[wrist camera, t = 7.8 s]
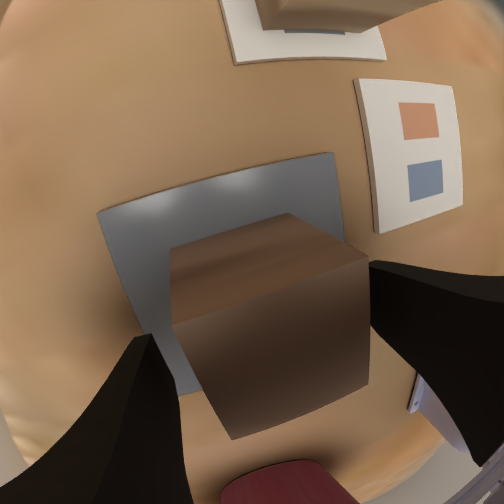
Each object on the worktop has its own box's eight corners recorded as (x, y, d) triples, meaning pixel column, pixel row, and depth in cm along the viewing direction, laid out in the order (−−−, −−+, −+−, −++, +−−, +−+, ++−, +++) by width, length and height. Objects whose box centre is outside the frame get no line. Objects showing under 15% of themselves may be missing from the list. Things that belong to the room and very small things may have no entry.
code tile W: (457, 203, 14) (462, 205, 14) (374, 232, 13) (379, 234, 12) (446, 87, 11) (452, 86, 11) (353, 80, 10) (358, 78, 10)
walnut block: (305, 310, 12) (368, 384, 8) (207, 345, 12) (231, 440, 7) (287, 212, 11) (367, 255, 6) (170, 248, 10) (171, 325, 6)
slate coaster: (345, 332, 14) (349, 336, 14) (176, 389, 13) (177, 396, 12) (327, 152, 11) (333, 152, 11) (100, 211, 9) (96, 213, 9)
